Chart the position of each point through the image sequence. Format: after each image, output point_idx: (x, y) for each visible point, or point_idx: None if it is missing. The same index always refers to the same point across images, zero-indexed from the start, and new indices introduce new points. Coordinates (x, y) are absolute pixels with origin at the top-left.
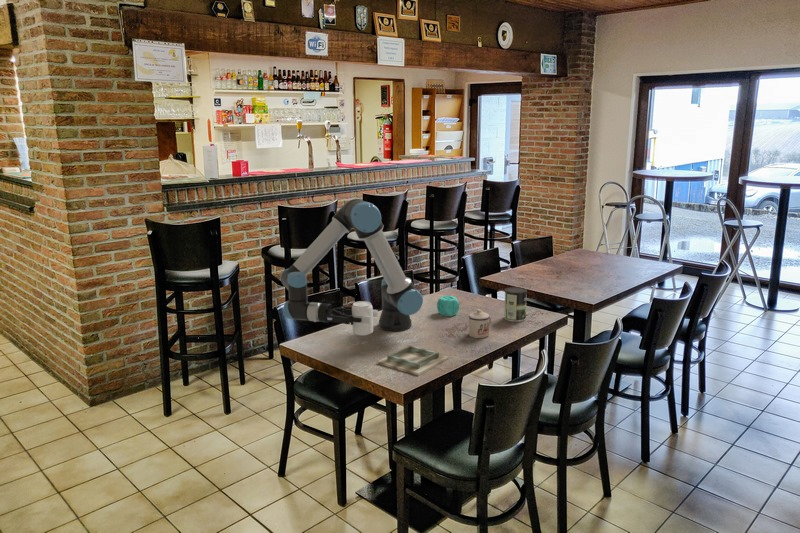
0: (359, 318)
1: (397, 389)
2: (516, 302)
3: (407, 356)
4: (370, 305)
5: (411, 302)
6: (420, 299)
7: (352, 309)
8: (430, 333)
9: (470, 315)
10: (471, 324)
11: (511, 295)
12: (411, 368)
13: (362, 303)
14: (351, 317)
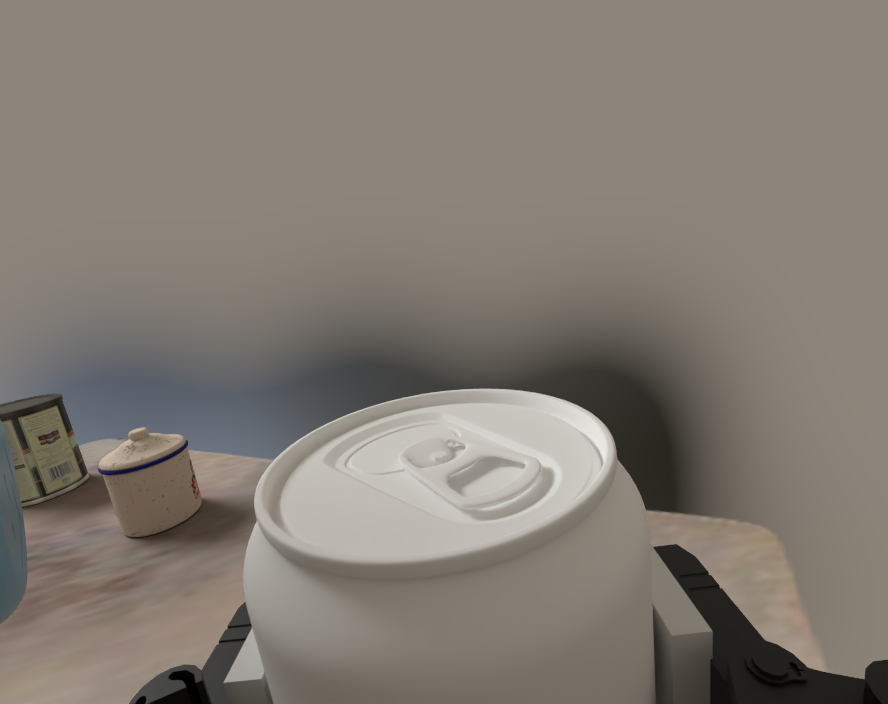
0: (672, 561)
1: (773, 552)
2: (64, 427)
3: None
4: (439, 406)
5: (10, 499)
6: (13, 465)
7: (625, 617)
8: (31, 673)
9: (138, 459)
10: (164, 482)
11: (42, 413)
12: None
13: (361, 479)
14: (796, 663)
